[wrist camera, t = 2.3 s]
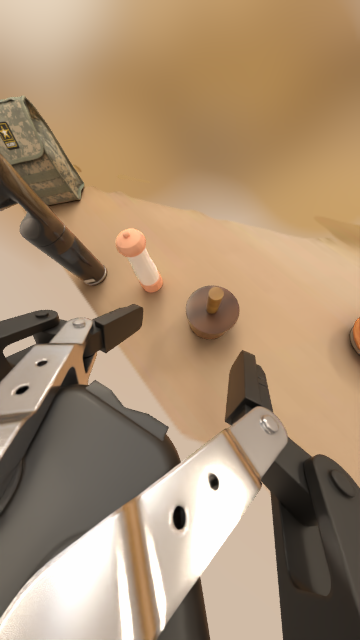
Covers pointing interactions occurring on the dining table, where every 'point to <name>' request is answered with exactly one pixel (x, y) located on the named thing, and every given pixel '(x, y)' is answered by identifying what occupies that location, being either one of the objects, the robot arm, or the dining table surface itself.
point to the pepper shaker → (139, 259)
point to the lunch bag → (36, 152)
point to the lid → (212, 309)
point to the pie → (356, 336)
